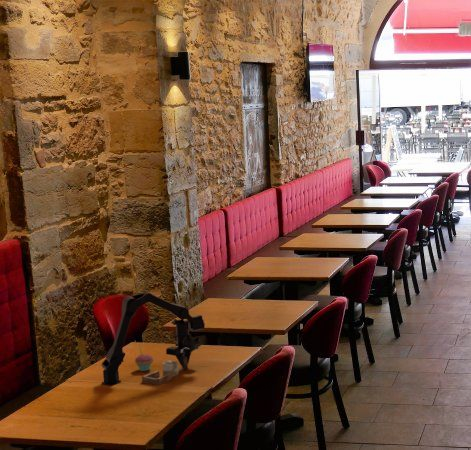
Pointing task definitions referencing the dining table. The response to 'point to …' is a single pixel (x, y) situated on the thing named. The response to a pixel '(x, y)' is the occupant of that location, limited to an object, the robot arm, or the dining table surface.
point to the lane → (152, 377)
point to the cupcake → (143, 361)
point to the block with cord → (173, 367)
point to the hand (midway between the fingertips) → (184, 364)
